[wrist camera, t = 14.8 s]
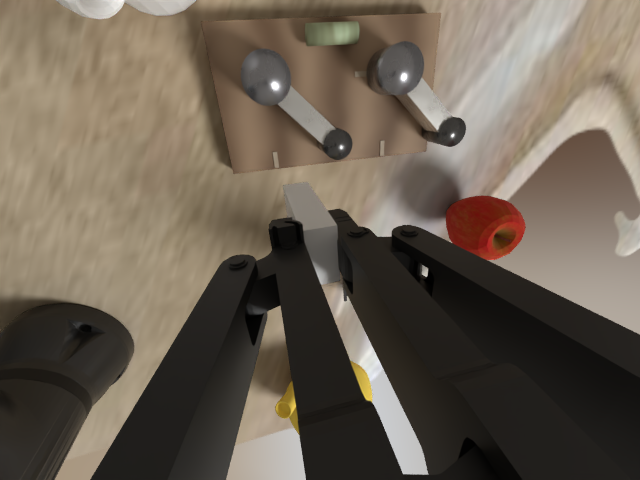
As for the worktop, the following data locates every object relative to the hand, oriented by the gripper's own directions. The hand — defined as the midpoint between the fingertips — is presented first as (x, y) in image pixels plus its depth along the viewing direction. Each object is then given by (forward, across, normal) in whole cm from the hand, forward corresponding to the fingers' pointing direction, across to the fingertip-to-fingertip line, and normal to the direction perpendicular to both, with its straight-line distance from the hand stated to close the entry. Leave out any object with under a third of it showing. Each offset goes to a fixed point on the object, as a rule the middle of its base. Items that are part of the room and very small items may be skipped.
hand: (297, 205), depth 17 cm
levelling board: (+19, +7, +5) cm, 21 cm away
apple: (+19, +26, -12) cm, 34 cm away
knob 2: (+17, +16, +4) cm, 23 cm away
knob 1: (+17, +3, +4) cm, 18 cm away
